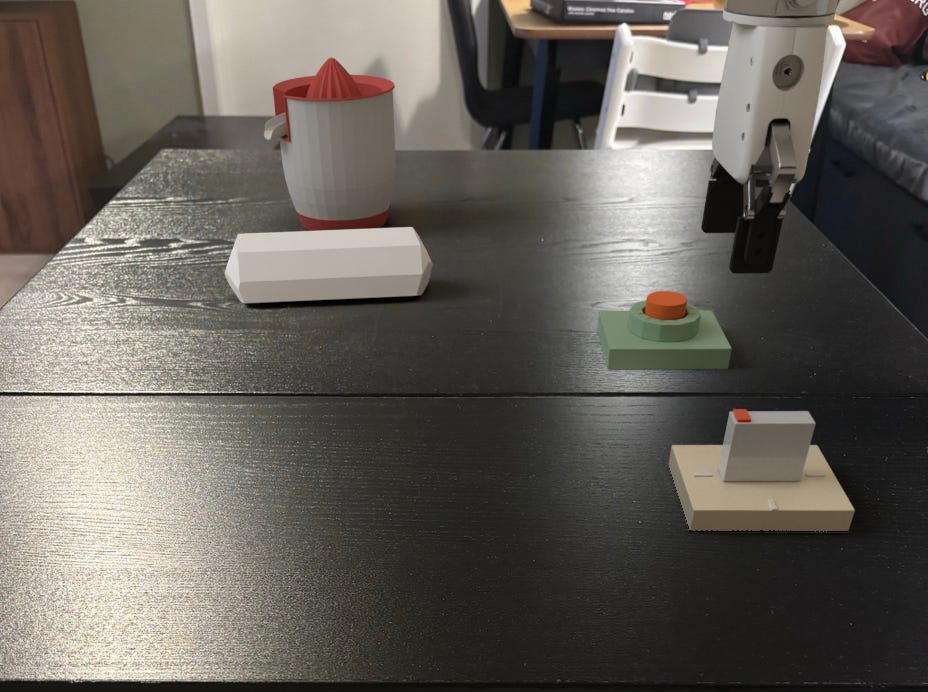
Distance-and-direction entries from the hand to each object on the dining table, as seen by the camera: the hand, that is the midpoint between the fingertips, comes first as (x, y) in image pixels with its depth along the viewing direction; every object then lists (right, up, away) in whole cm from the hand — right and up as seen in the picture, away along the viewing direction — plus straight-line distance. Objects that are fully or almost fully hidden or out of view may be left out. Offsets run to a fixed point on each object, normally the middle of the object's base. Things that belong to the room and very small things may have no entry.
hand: (734, 251), depth 75 cm
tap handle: (+1, -18, -2) cm, 19 cm away
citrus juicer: (-38, +26, +55) cm, 72 cm away
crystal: (-37, +9, +35) cm, 51 cm away
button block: (-1, -1, +22) cm, 22 cm away
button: (-1, +2, +19) cm, 20 cm away
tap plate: (+1, -20, -1) cm, 20 cm away
